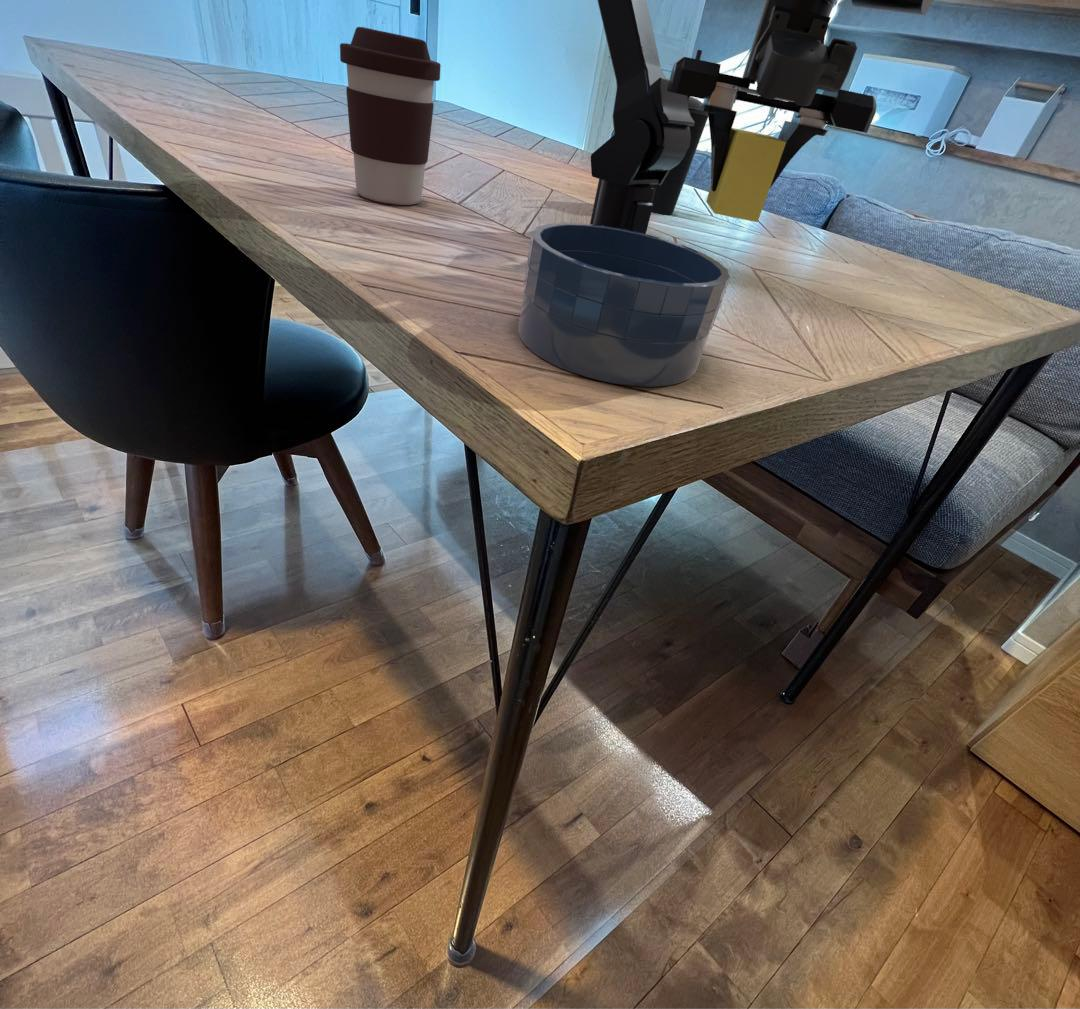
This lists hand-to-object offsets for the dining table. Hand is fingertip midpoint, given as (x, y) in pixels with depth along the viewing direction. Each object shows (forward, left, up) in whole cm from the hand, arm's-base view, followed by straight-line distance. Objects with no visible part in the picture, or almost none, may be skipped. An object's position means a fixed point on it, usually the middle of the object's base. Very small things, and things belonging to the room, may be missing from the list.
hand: (735, 195), depth 61 cm
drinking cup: (-27, +18, -8) cm, 33 cm away
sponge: (0, 0, -2) cm, 2 cm away
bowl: (+14, -27, -8) cm, 31 cm away
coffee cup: (-27, -26, -8) cm, 38 cm away
